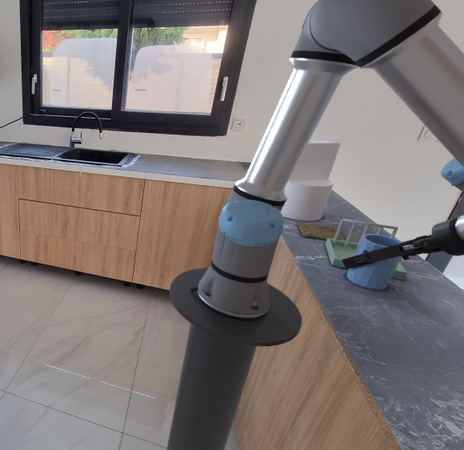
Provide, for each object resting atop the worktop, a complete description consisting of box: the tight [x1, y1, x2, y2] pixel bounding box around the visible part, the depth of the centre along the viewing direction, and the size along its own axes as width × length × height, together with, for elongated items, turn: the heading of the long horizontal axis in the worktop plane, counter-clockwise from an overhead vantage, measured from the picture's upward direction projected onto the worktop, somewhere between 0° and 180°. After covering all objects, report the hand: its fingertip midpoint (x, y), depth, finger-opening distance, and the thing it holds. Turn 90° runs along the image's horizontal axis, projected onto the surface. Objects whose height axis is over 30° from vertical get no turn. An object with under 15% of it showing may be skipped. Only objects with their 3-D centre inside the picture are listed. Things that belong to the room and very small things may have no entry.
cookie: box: [297, 222, 347, 241], centre depth 109 cm, size 12×12×1 cm
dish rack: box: [324, 218, 408, 281], centre depth 90 cm, size 15×15×10 cm
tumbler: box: [346, 233, 403, 291], centre depth 80 cm, size 8×8×12 cm
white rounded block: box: [281, 139, 341, 222], centre depth 122 cm, size 17×17×28 cm
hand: (357, 262), depth 84 cm, fingers closed on tumbler, 8 cm apart
